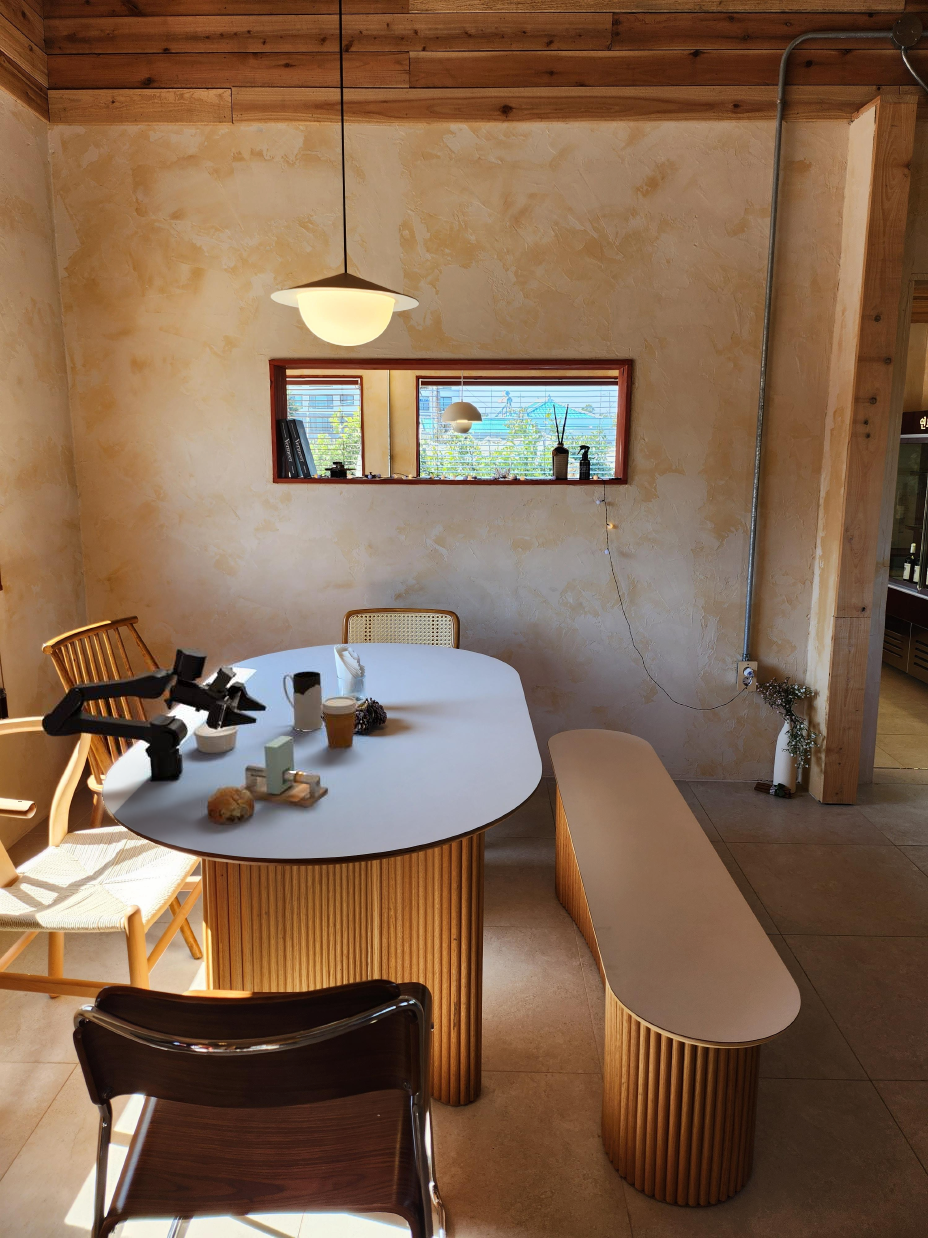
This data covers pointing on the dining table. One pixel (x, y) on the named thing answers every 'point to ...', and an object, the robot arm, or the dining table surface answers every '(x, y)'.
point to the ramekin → (215, 738)
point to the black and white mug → (306, 700)
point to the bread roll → (230, 805)
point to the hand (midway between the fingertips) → (261, 714)
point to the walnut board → (285, 793)
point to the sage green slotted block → (278, 763)
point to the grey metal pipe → (285, 778)
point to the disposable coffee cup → (339, 721)
